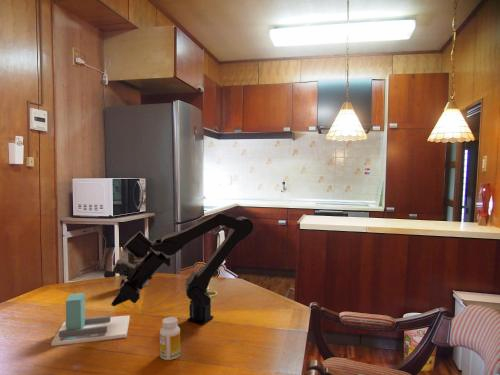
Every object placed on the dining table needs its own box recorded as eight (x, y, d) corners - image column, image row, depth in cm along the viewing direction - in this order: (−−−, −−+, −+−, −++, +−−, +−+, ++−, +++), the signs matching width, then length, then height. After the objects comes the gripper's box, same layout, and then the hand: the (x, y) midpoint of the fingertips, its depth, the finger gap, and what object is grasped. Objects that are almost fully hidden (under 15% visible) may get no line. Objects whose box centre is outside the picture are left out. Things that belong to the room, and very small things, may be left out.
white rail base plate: (129, 318, 116) (129, 310, 116) (126, 337, 103) (126, 329, 102) (64, 324, 111) (64, 317, 111) (51, 345, 97) (51, 337, 97)
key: (207, 287, 148) (207, 282, 148) (219, 296, 138) (219, 291, 138) (191, 290, 145) (191, 285, 145) (202, 300, 134) (202, 294, 134)
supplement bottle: (181, 349, 96) (181, 315, 95) (178, 360, 90) (178, 324, 90) (162, 350, 95) (162, 315, 95) (157, 360, 90) (157, 324, 90)
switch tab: (85, 324, 109) (84, 292, 108) (81, 332, 103) (80, 299, 103) (71, 325, 108) (70, 294, 107) (66, 334, 102) (65, 300, 101)
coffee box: (129, 291, 143) (128, 252, 142) (121, 287, 147) (120, 250, 146) (148, 285, 150) (148, 249, 149) (140, 282, 154) (139, 246, 153)
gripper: (130, 245, 117) (97, 280, 115) (125, 258, 99) (85, 300, 97) (155, 265, 120) (122, 300, 117) (155, 282, 102) (116, 323, 99)
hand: (112, 305), depth 108 cm, fingers closed
